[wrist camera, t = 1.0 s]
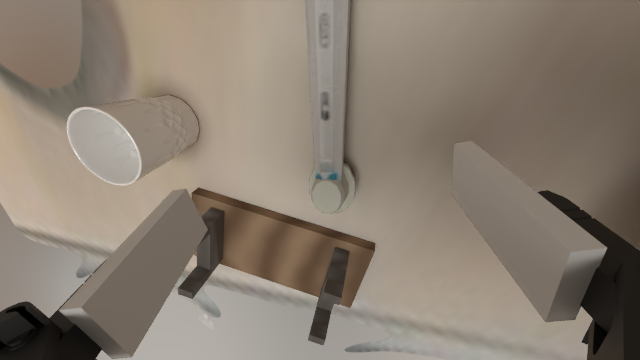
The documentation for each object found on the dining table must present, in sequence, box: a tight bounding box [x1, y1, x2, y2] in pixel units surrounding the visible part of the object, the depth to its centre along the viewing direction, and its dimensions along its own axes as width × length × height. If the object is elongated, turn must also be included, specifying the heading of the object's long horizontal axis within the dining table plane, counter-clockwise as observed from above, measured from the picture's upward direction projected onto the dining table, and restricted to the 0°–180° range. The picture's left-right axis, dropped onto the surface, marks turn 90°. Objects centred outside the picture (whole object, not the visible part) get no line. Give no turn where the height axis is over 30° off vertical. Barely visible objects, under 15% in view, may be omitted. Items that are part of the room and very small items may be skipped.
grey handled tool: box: [305, 0, 355, 214], centre depth 26 cm, size 5×7×25 cm
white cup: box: [67, 95, 199, 186], centre depth 29 cm, size 8×8×10 cm
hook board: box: [178, 188, 375, 345], centre depth 36 cm, size 26×12×9 cm, turn 78°
